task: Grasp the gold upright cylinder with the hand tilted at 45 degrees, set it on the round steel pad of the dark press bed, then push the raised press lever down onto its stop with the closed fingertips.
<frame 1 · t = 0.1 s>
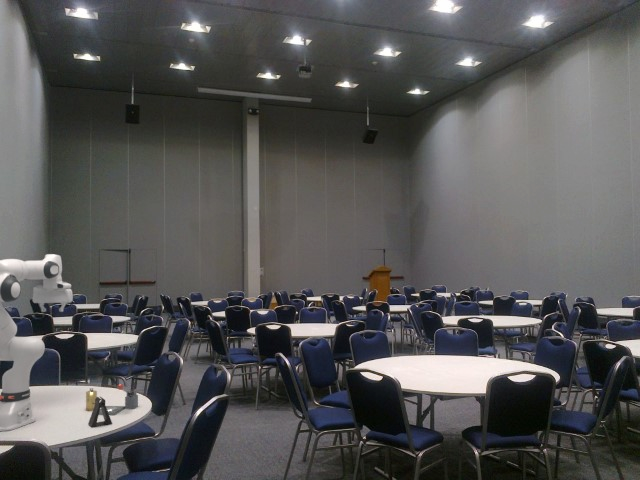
hand: (52, 311, 292), 48 cm above the table, tool pointing down, fingers open, 8 cm apart
press bed: (110, 411, 275), on the table
press lever: (126, 389, 276), point 10 cm above the table, hinge at -25.0°
gold upright cylinder: (91, 409, 279), on the table
lever post: (131, 407, 283), on the table
black triangular frame: (100, 424, 254), on the table
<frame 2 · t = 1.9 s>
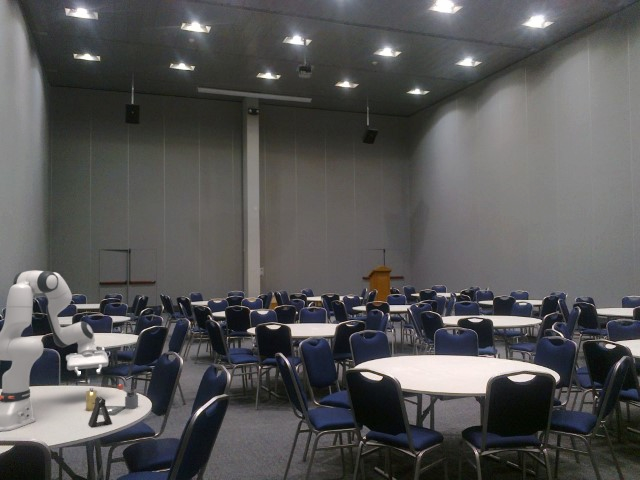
hand: (88, 374, 291), 15 cm above the table, tool tilted 45°, fingers open, 8 cm apart
nothing on the table moved.
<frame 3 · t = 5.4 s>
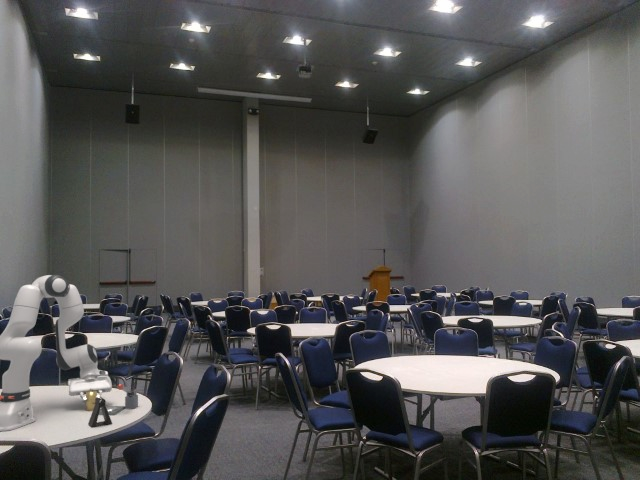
hand: (91, 400, 279), 5 cm above the table, tool tilted 45°, fingers closed on gold upright cylinder, 5 cm apart
gold upright cylinder: (91, 409, 279), on the table, touching gripper
everything else where it was.
when the fingers open (7 cm above the table, at t = 10.1 s): gold upright cylinder stays where it is, resting on press bed.
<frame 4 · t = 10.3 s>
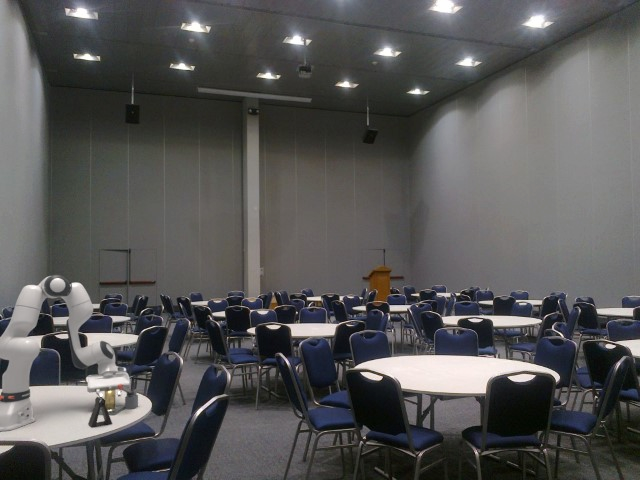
hand: (110, 396, 275), 7 cm above the table, tool tilted 45°, fingers open, 7 cm apart
gold upright cylinder: (110, 408, 275), point 1 cm above the table, touching press bed
everything else where it was.
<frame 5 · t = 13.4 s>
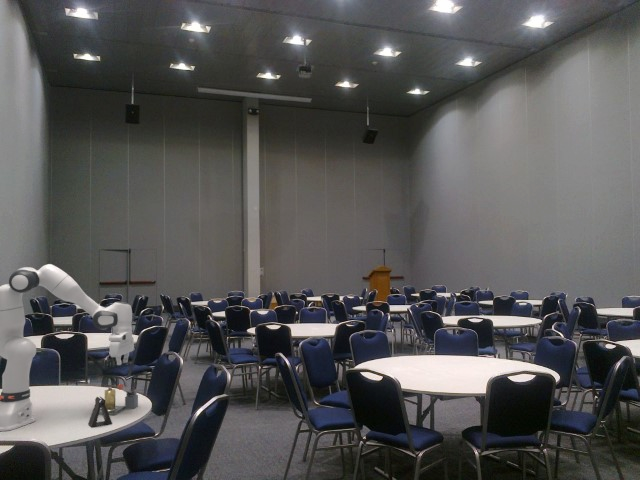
hand: (122, 363, 273), 24 cm above the table, tool pointing down, fingers open, 6 cm apart
nothing on the table moved.
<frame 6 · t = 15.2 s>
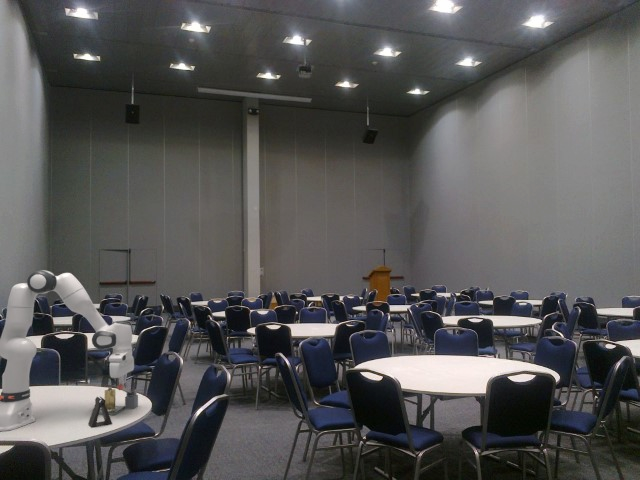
hand: (122, 383, 272), 14 cm above the table, tool pointing down, fingers closed
press lever: (126, 390, 276), point 10 cm above the table, hinge at -24.2°, touching gripper
everything else where it was.
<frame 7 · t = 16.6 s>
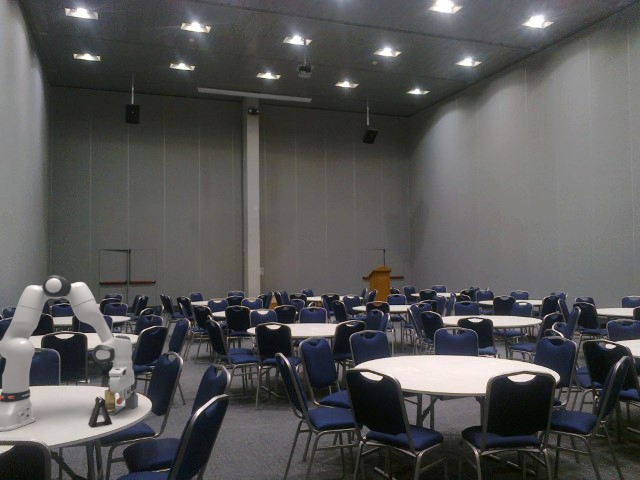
hand: (122, 397, 272), 8 cm above the table, tool pointing down, fingers closed on press lever
press lever: (125, 397, 276), point 7 cm above the table, hinge at 1.8°, touching gripper
everything else where it was.
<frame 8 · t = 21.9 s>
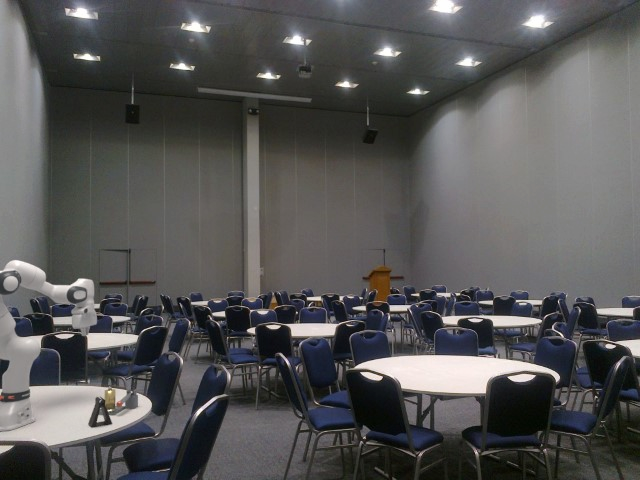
hand: (85, 335, 294), 35 cm above the table, tool pointing down, fingers closed
press lever: (125, 398, 276), point 6 cm above the table, hinge at 7.2°
everything else where it was.
at the end: gold upright cylinder inside the target area on the press bed (0.1 cm from its centre), point 1.4 cm above the press bed's base; gold upright cylinder tilted 0°; press lever at +7° (first picture: -25°) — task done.
